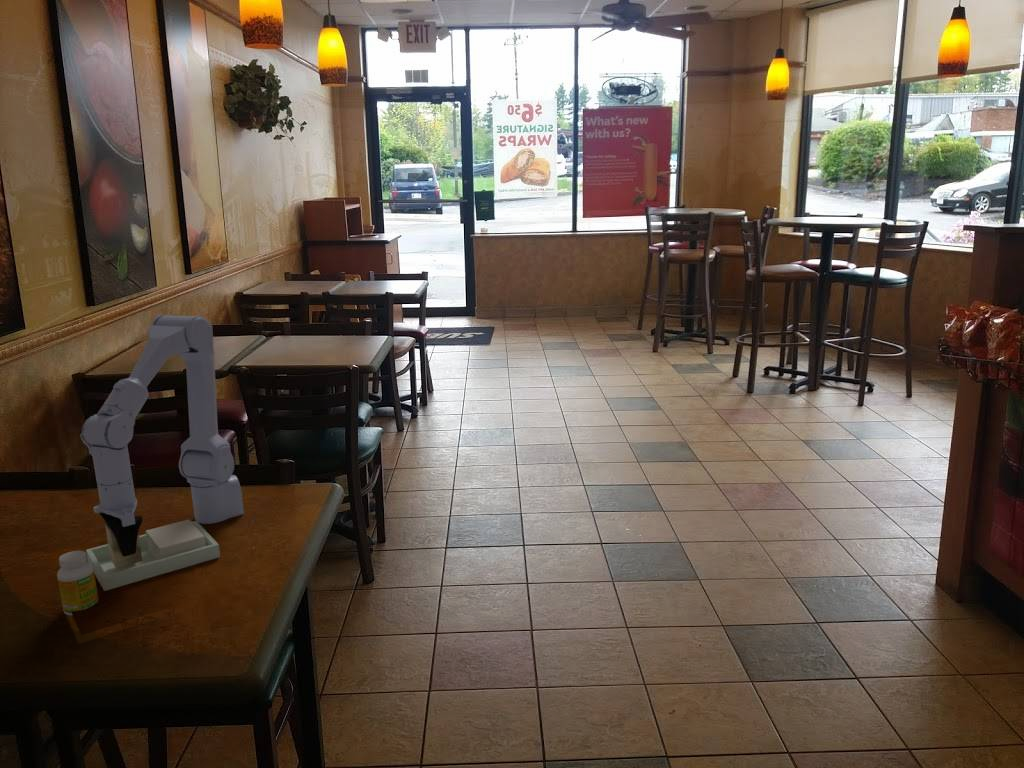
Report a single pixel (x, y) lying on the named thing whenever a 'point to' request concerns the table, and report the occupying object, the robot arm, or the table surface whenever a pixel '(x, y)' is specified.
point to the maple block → (116, 553)
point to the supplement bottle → (76, 582)
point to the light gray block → (174, 539)
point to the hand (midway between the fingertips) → (125, 549)
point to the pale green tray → (147, 562)
